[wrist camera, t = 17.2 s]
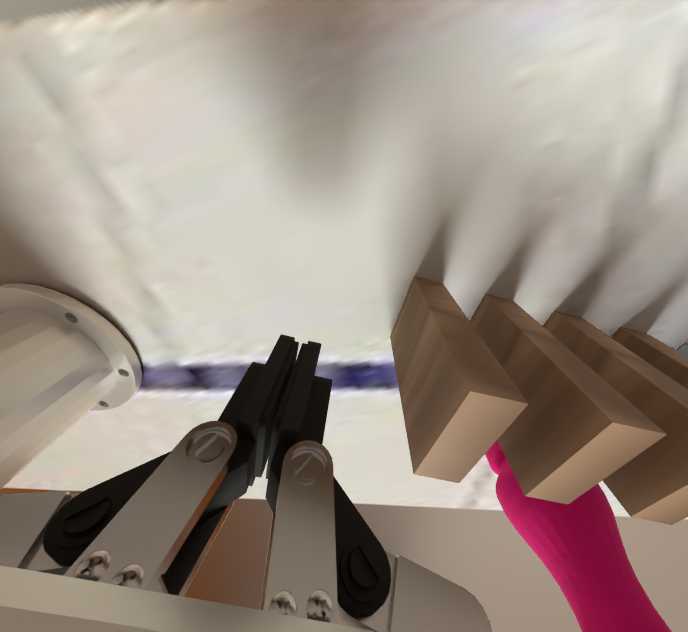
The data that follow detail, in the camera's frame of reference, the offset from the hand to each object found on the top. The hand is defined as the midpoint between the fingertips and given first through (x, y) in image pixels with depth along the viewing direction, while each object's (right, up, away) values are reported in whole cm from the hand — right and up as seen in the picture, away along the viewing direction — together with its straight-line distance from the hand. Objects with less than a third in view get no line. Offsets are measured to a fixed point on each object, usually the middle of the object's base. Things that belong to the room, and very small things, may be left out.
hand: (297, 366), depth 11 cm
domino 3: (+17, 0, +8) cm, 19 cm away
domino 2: (+12, +1, +8) cm, 14 cm away
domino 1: (+7, +2, +7) cm, 10 cm away
